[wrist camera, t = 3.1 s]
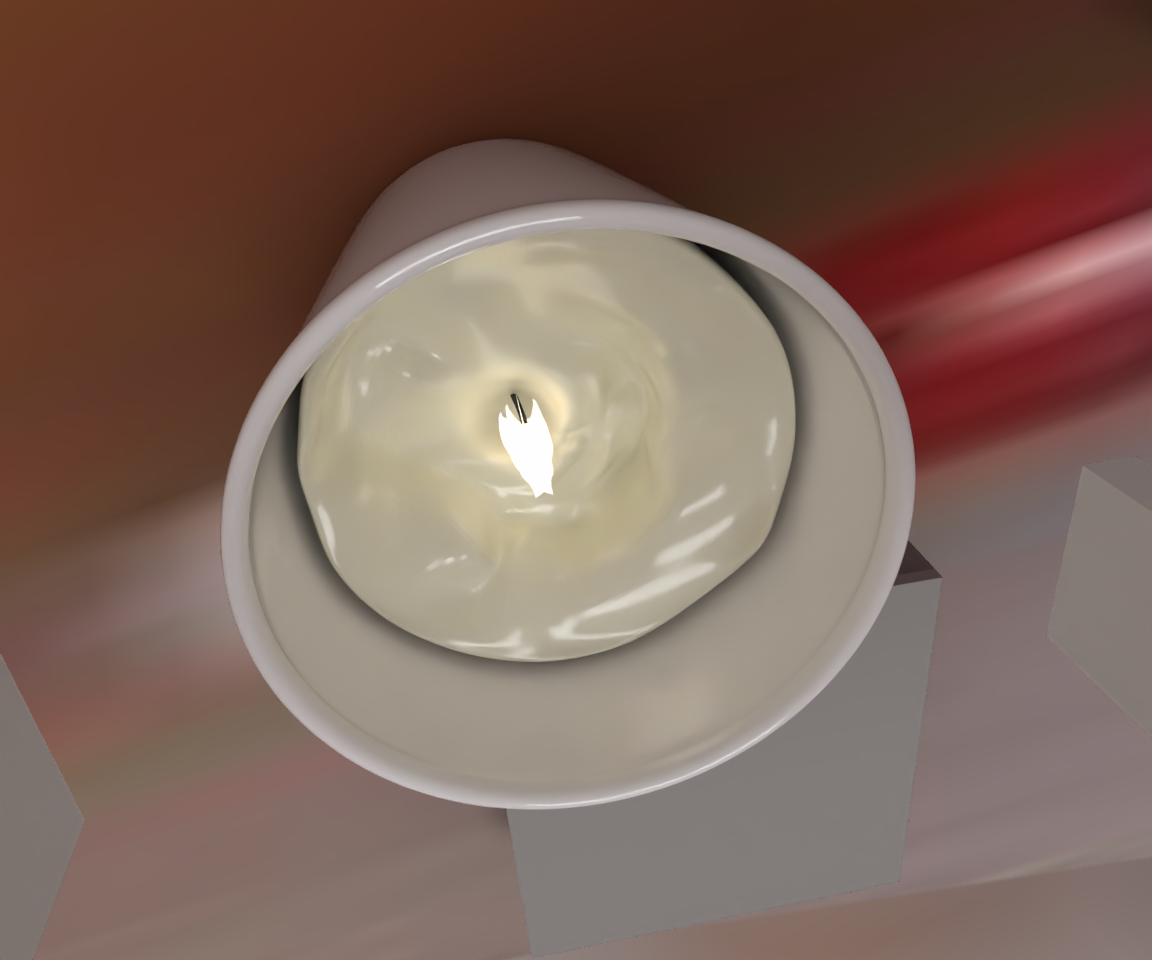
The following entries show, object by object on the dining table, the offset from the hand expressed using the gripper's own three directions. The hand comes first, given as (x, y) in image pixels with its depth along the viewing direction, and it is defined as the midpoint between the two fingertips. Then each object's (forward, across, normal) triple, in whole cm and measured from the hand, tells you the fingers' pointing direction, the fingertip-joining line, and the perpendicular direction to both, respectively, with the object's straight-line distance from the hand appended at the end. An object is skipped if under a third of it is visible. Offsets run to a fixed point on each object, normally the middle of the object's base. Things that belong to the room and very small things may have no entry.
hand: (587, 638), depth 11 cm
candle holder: (+14, 0, 0) cm, 14 cm away
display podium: (+14, +4, -13) cm, 19 cm away
